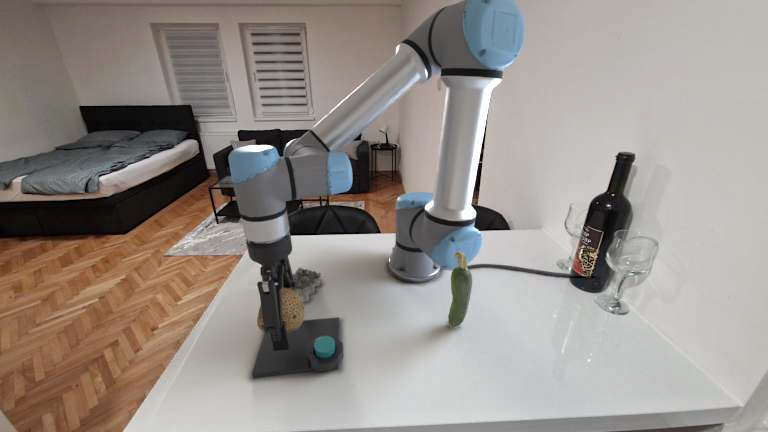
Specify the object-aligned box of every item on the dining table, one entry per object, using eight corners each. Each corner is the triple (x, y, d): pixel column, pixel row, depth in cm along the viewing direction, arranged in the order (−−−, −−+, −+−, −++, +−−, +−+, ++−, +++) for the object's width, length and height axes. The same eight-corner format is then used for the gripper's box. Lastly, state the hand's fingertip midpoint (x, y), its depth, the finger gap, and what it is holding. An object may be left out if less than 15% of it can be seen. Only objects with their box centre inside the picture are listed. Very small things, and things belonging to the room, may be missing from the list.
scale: (343, 320, 70) (342, 310, 69) (343, 373, 58) (342, 362, 57) (268, 327, 69) (266, 317, 67) (251, 383, 56) (248, 371, 55)
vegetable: (466, 324, 69) (477, 248, 61) (464, 338, 66) (475, 259, 58) (446, 319, 71) (455, 245, 63) (444, 332, 67) (452, 255, 59)
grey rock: (304, 306, 75) (302, 293, 73) (278, 300, 77) (275, 287, 75) (324, 281, 84) (323, 269, 83) (300, 276, 86) (299, 264, 85)
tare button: (335, 341, 62) (335, 335, 61) (335, 357, 58) (334, 351, 57) (315, 343, 61) (314, 336, 60) (313, 360, 57) (313, 353, 57)
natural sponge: (317, 326, 65) (312, 288, 60) (284, 355, 58) (276, 315, 54) (288, 310, 69) (281, 274, 65) (254, 336, 62) (244, 297, 58)
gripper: (261, 211, 63) (277, 297, 73) (224, 271, 44) (253, 378, 53) (297, 209, 64) (309, 295, 74) (277, 267, 45) (297, 373, 54)
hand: (285, 329), depth 63 cm, fingers closed on natural sponge, 9 cm apart
